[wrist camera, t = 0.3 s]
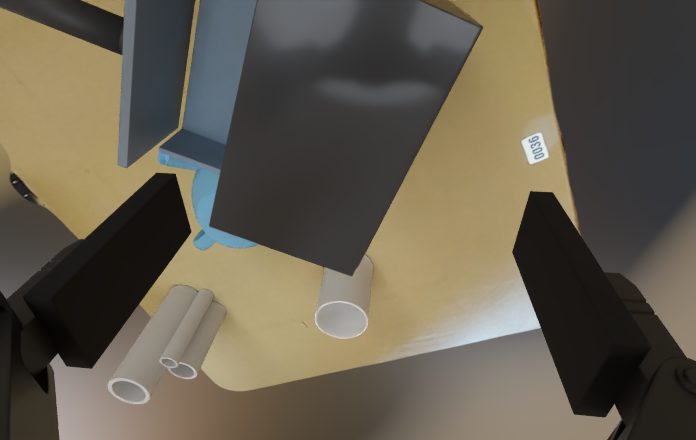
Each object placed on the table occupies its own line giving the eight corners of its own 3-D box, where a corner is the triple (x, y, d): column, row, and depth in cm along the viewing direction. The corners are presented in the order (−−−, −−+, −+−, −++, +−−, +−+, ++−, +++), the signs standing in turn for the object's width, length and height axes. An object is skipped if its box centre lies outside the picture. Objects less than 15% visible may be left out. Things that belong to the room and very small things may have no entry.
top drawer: (38, 75, 30) (-52, 104, 24) (20, -168, 22) (-119, -215, 16) (288, 169, 32) (264, 218, 26) (349, -21, 24) (335, -14, 18)
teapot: (251, 246, 68) (226, 298, 58) (153, 164, 61) (103, 207, 51) (334, 180, 60) (321, 228, 49) (231, 77, 53) (190, 106, 42)
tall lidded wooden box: (305, 85, 52) (208, 227, 25) (347, -53, 44) (270, -68, 16) (375, 114, 54) (356, 278, 26) (430, -15, 45) (488, 29, 17)
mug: (368, 302, 73) (363, 357, 63) (321, 296, 73) (310, 349, 63) (376, 252, 66) (373, 304, 56) (325, 245, 67) (314, 296, 57)
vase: (168, 304, 78) (108, 398, 62) (170, 279, 74) (106, 371, 58) (224, 320, 79) (180, 416, 63) (229, 295, 75) (183, 391, 59)
